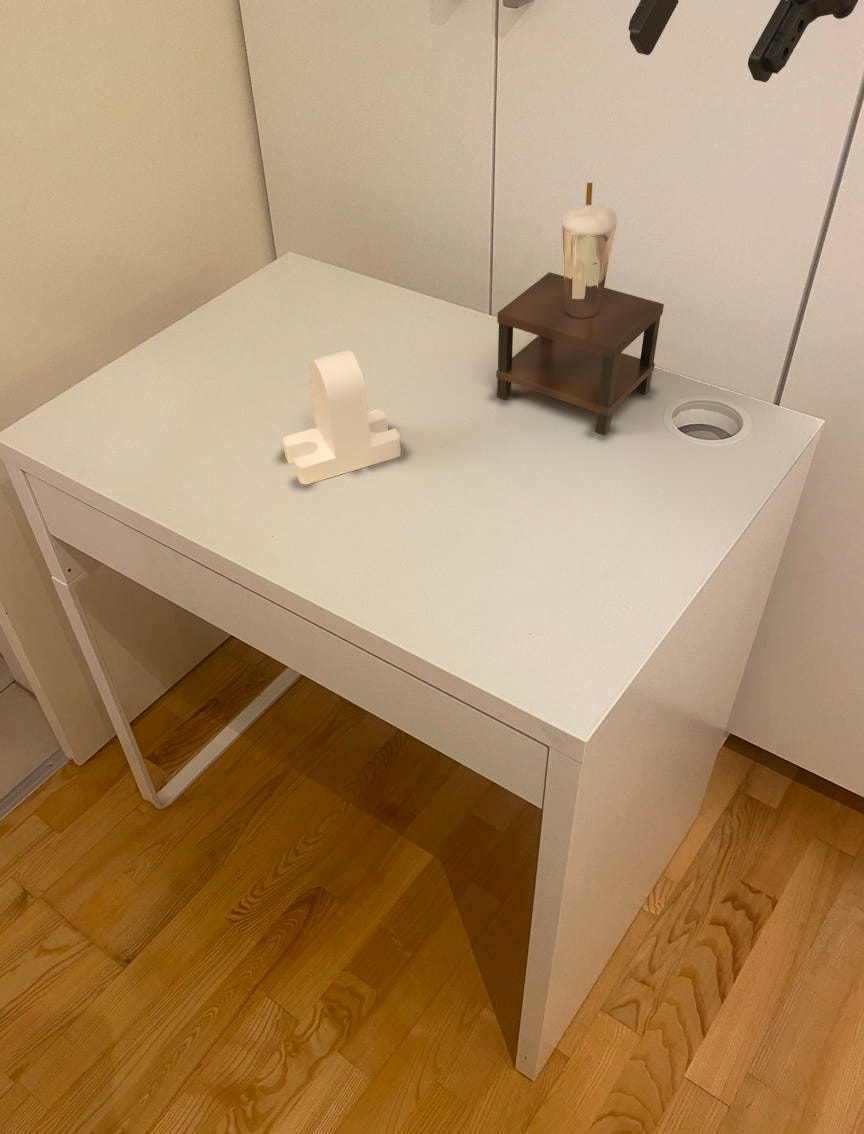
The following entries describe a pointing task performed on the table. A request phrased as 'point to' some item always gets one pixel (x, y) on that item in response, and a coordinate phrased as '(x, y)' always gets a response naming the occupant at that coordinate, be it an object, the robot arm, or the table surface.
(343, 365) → the cream mounting bracket
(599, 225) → the milkshake
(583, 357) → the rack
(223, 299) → the table surface
